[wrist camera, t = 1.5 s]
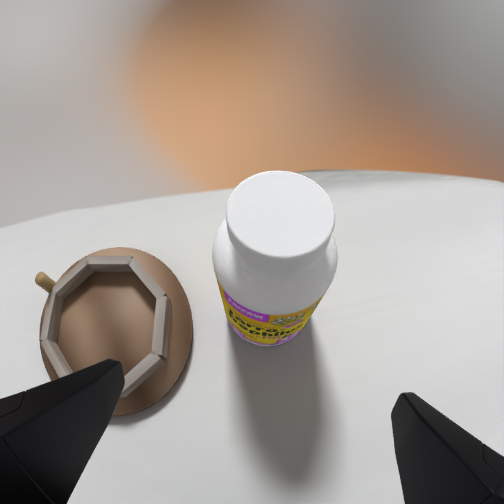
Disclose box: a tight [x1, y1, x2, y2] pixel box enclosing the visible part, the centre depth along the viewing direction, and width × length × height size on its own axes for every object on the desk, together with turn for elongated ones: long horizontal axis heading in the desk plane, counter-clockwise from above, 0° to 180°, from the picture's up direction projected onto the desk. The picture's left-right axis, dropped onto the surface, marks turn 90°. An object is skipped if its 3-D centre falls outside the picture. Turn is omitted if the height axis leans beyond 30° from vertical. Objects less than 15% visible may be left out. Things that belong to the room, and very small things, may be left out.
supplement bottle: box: [212, 171, 338, 346], centre depth 18 cm, size 7×7×13 cm
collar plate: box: [35, 247, 193, 416], centre depth 21 cm, size 15×15×4 cm
